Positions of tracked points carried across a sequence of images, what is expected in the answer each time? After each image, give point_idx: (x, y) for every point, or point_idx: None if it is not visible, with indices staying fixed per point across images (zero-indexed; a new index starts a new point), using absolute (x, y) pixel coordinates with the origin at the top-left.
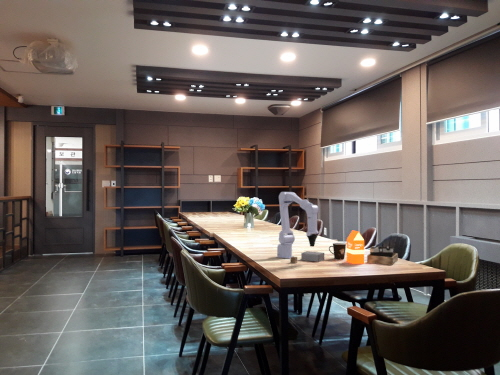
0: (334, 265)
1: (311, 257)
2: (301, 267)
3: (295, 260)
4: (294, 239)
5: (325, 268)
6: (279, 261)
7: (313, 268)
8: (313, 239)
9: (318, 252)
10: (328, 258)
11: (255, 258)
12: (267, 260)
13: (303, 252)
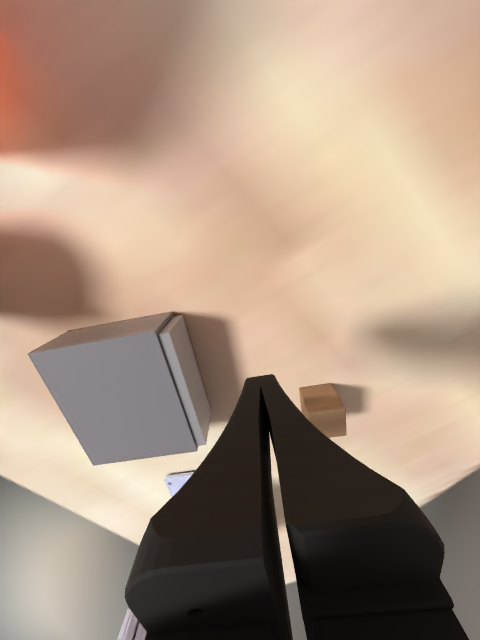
0: (206, 135)
1: (190, 368)
2: (436, 288)
3: (333, 395)
4: (128, 634)
5: (380, 121)
6: None
7: (431, 203)
8: (335, 451)
9: (61, 391)
10: (8, 332)
11: None
12: None
13: (161, 455)
